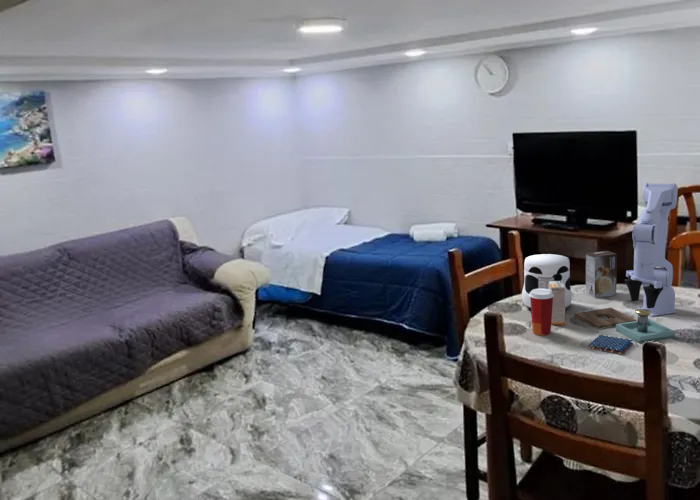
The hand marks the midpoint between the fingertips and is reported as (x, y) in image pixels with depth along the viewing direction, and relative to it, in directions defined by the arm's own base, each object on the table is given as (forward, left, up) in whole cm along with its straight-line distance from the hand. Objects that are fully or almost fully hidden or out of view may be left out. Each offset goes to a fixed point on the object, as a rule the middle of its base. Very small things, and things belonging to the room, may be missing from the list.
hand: (642, 304), depth 205 cm
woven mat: (+15, +6, -10) cm, 19 cm away
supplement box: (+18, -20, -10) cm, 29 cm away
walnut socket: (+3, -15, -9) cm, 18 cm away
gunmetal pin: (+1, +1, -9) cm, 9 cm away
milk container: (+14, -34, -10) cm, 38 cm away
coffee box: (-11, -39, -10) cm, 41 cm away
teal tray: (0, +2, -9) cm, 9 cm away
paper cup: (+28, -12, -10) cm, 32 cm away
